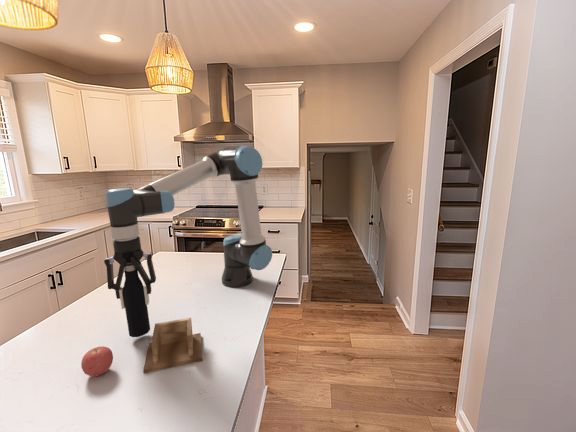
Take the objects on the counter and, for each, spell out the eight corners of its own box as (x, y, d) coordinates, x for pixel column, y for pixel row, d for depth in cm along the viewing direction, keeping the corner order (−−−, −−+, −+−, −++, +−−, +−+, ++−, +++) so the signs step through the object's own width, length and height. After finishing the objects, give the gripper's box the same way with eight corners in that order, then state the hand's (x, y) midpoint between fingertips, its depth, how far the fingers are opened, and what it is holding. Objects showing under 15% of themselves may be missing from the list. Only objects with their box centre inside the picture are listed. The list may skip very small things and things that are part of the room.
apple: (110, 379, 80) (106, 353, 78) (79, 385, 78) (75, 359, 76) (117, 361, 87) (114, 337, 85) (89, 366, 85) (85, 342, 83)
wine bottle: (141, 338, 94) (129, 250, 88) (124, 336, 95) (110, 249, 89) (154, 327, 100) (143, 244, 94) (138, 325, 102) (126, 243, 95)
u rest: (200, 336, 99) (199, 314, 97) (202, 360, 87) (200, 336, 85) (149, 345, 94) (146, 323, 92) (143, 373, 82) (140, 347, 80)
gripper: (160, 231, 97) (168, 294, 102) (94, 238, 92) (105, 304, 96) (158, 237, 90) (166, 304, 95) (86, 244, 85) (99, 316, 89)
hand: (135, 304), depth 96 cm, fingers closed on wine bottle, 6 cm apart
